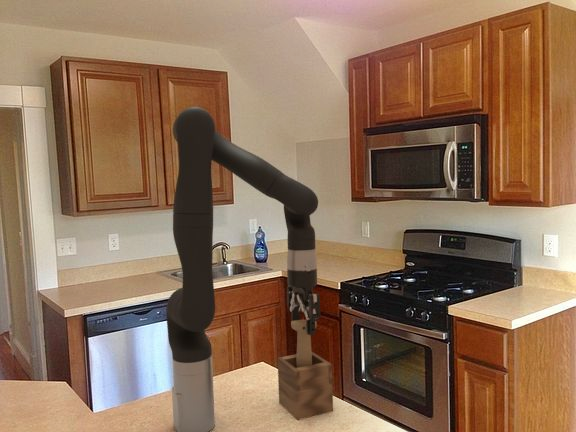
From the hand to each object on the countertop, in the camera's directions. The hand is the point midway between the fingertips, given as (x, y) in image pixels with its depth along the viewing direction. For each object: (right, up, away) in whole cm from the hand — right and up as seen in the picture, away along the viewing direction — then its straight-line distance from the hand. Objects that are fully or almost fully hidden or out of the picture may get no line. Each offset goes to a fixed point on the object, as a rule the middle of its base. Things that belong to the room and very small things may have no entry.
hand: (303, 330), depth 129 cm
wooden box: (+1, -20, +1) cm, 20 cm away
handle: (0, -13, +1) cm, 13 cm away
